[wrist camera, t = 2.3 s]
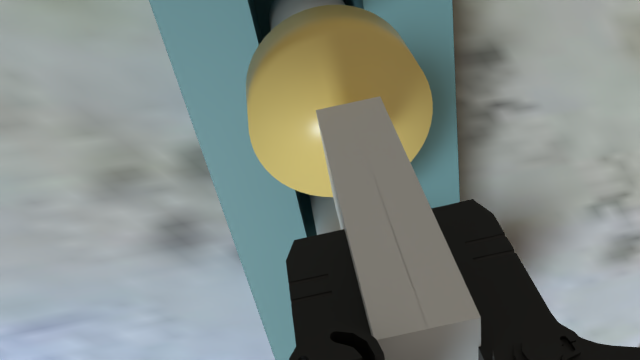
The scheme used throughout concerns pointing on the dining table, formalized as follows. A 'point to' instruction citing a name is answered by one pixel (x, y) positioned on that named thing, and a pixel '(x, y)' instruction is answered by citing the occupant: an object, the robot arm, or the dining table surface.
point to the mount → (235, 145)
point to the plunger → (327, 85)
